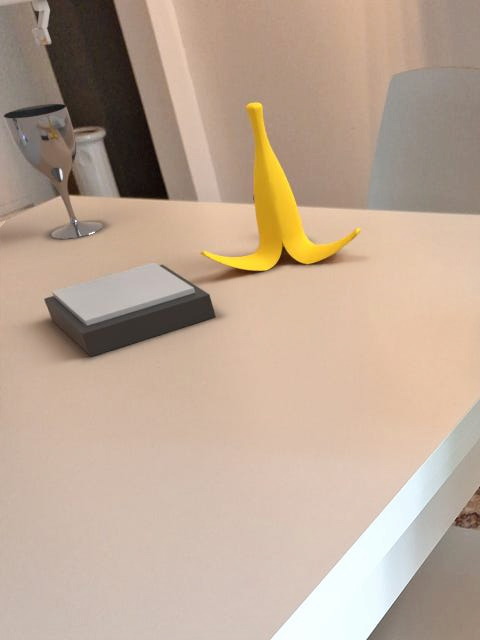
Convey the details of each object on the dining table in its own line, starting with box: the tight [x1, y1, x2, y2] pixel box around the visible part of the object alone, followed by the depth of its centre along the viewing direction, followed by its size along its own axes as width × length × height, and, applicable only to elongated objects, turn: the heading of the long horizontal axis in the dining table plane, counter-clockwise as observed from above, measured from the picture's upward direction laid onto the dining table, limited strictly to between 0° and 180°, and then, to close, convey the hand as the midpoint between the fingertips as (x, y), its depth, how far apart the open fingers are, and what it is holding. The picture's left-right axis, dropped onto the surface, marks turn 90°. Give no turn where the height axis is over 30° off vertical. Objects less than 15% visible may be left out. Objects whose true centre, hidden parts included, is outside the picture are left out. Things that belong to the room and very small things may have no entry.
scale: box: [43, 262, 216, 358], centre depth 101 cm, size 14×14×3 cm
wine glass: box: [3, 103, 104, 240], centre depth 125 cm, size 8×8×15 cm
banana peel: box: [200, 102, 362, 272], centre depth 108 cm, size 17×19×17 cm
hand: (7, 52), depth 115 cm, fingers open, 8 cm apart
